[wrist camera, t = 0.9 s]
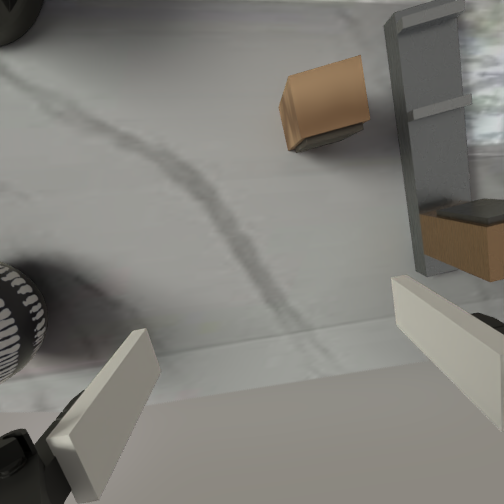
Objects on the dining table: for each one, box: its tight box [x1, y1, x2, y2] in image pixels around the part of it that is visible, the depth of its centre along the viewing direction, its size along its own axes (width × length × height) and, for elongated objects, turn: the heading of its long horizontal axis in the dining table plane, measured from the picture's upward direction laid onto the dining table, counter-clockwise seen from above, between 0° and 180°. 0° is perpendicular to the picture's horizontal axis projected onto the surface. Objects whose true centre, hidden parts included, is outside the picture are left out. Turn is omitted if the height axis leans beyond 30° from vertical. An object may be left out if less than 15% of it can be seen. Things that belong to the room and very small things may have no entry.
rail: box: [384, 0, 504, 282], centre depth 28 cm, size 29×6×12 cm, turn 15°
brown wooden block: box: [279, 55, 370, 153], centre depth 29 cm, size 6×6×10 cm
